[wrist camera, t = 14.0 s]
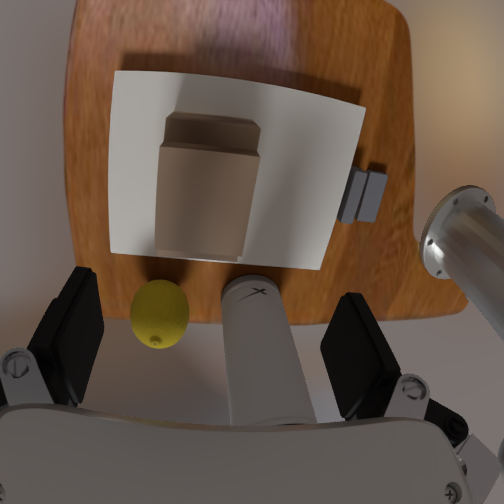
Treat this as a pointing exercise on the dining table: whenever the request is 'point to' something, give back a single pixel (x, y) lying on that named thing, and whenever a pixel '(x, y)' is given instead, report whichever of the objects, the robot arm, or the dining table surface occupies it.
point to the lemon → (159, 313)
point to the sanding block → (205, 185)
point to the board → (269, 149)
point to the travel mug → (261, 357)
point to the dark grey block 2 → (371, 196)
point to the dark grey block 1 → (351, 195)
